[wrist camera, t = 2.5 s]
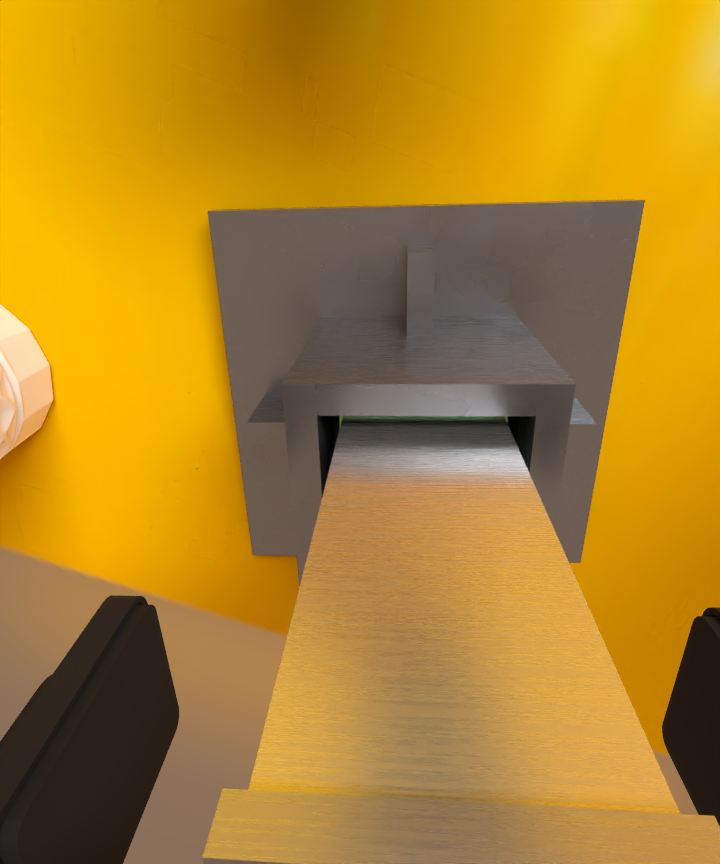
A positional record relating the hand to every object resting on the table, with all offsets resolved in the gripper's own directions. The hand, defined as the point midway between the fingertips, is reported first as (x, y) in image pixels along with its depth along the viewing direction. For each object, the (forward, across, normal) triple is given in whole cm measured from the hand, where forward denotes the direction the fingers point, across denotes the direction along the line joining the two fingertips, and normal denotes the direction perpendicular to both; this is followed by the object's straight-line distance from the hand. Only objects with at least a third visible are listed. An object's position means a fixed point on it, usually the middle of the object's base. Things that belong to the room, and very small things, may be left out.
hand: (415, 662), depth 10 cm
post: (+12, 0, 0) cm, 12 cm away
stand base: (+13, 0, 0) cm, 13 cm away
